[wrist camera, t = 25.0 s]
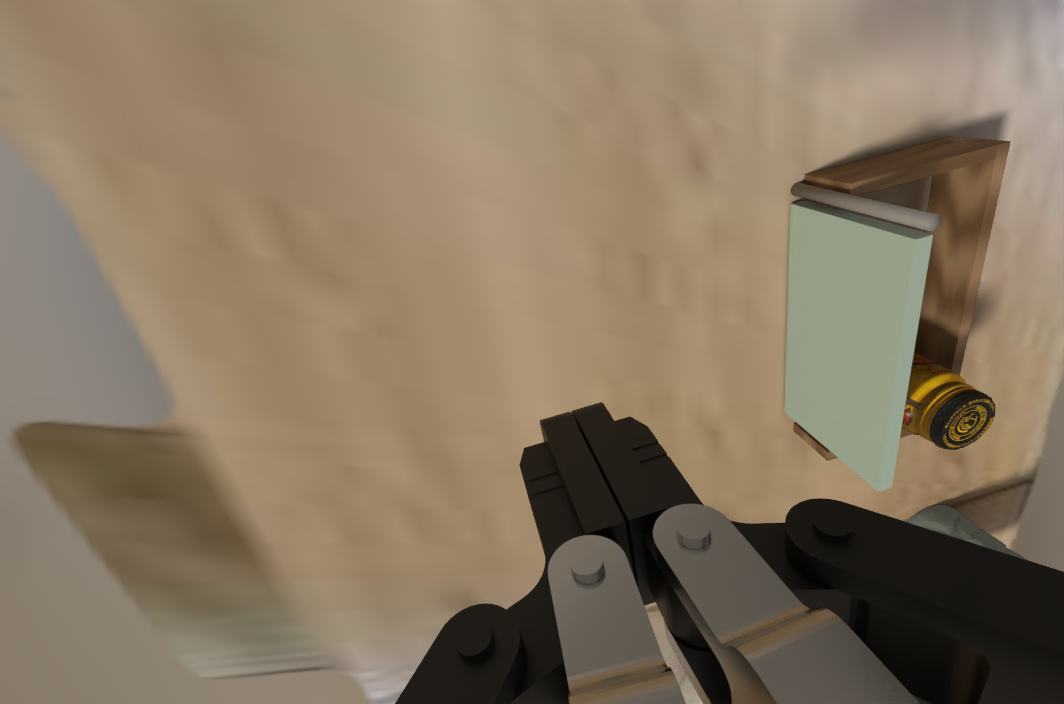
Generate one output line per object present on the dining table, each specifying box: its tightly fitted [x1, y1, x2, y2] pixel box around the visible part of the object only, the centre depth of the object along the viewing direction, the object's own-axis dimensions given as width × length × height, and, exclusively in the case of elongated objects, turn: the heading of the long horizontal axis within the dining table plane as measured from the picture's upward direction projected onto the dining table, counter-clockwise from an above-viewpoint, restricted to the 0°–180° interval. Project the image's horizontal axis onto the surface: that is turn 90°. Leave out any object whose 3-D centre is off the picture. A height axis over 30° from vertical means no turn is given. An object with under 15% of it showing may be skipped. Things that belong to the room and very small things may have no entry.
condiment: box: [902, 352, 995, 450], centre depth 47 cm, size 7×8×12 cm
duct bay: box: [794, 137, 1010, 461], centre depth 46 cm, size 26×13×5 cm, turn 12°
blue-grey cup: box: [906, 505, 1027, 560], centre depth 61 cm, size 10×10×12 cm
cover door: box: [785, 183, 942, 492], centre depth 42 cm, size 22×1×13 cm, turn 12°
